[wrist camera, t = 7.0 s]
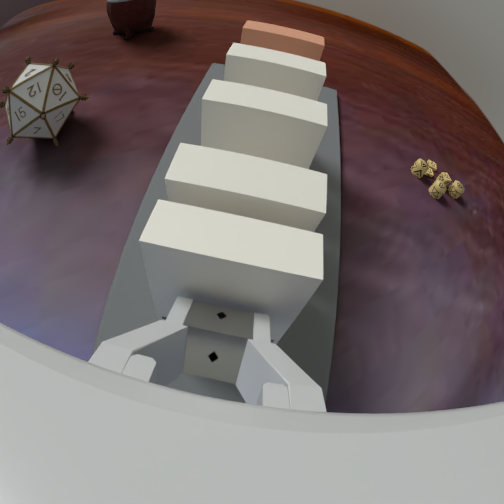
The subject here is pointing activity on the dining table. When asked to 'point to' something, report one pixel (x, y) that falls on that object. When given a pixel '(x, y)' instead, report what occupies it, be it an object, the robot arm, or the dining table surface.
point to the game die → (40, 101)
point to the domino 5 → (230, 262)
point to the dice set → (442, 180)
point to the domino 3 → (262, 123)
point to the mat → (311, 316)
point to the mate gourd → (131, 16)
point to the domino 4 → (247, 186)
